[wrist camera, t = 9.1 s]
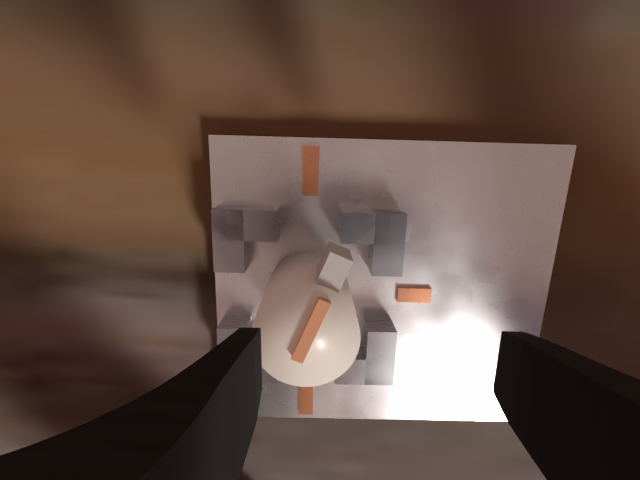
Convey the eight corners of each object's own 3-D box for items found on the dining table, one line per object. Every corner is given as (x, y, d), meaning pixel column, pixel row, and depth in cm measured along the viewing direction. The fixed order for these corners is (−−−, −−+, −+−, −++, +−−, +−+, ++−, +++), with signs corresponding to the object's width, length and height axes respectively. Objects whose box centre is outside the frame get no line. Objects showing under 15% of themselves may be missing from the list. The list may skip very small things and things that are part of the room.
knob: (329, 339, 19) (334, 406, 14) (256, 311, 19) (233, 369, 14) (374, 248, 18) (396, 284, 13) (296, 215, 18) (288, 239, 13)
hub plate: (513, 409, 22) (538, 441, 19) (225, 404, 22) (214, 436, 19) (562, 145, 18) (600, 144, 16) (214, 135, 18) (198, 132, 15)
